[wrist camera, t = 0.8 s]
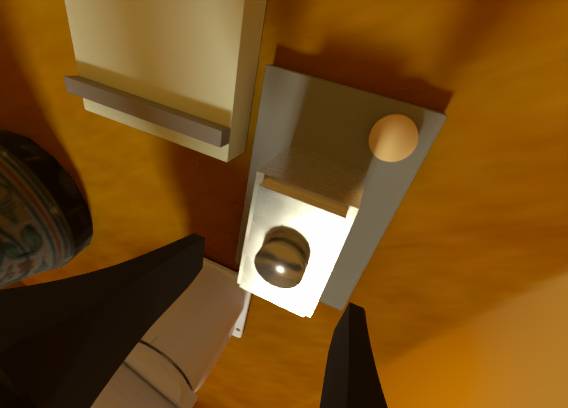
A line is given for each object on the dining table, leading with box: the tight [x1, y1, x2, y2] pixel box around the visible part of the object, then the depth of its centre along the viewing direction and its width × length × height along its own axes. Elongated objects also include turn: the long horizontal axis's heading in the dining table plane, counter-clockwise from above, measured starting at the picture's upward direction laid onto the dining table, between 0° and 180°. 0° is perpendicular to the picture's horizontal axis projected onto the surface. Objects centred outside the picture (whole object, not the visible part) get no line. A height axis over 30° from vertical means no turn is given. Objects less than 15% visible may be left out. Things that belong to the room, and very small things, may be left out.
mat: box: [235, 65, 447, 311], centre depth 18 cm, size 16×10×2 cm, turn 167°
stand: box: [64, 0, 267, 162], centre depth 16 cm, size 12×12×4 cm
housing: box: [237, 145, 368, 317], centre depth 16 cm, size 8×5×6 cm, turn 167°
